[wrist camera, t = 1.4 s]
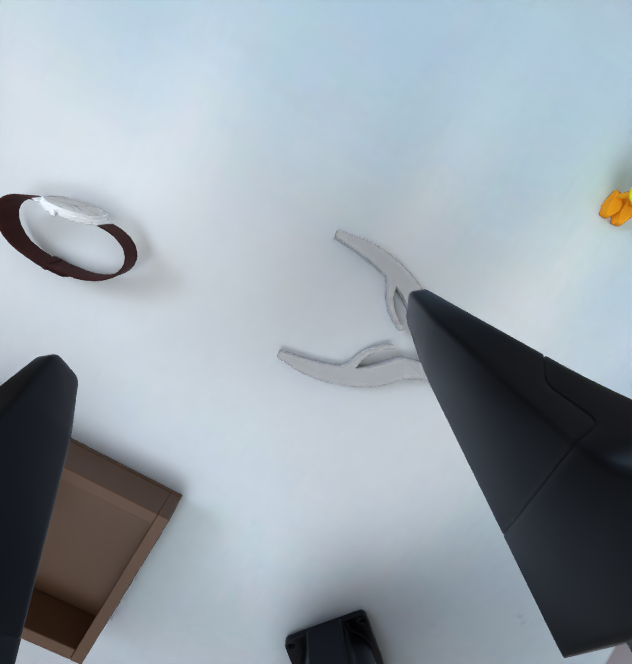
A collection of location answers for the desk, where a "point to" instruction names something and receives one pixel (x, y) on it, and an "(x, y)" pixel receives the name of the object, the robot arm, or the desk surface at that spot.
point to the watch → (6, 218)
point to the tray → (92, 549)
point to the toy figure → (617, 207)
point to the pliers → (381, 371)
